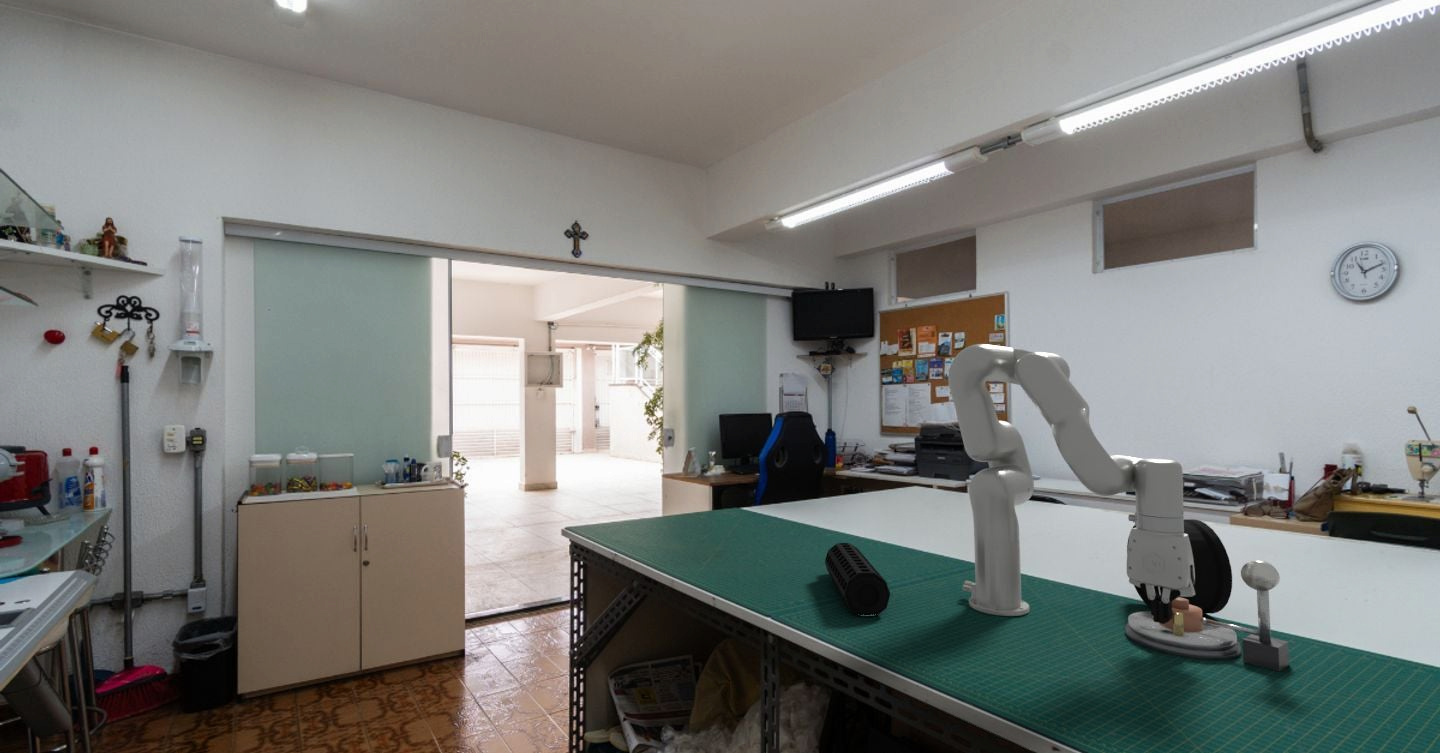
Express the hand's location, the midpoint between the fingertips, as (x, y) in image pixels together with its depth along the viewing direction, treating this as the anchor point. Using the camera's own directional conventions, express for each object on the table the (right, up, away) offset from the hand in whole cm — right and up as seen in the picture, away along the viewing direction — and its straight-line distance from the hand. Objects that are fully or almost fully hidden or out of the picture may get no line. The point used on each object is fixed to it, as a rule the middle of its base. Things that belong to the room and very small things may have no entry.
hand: (1161, 621), depth 121 cm
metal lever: (+11, -4, -5) cm, 13 cm away
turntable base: (+5, -5, +2) cm, 8 cm away
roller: (-51, -7, +36) cm, 63 cm away
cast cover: (+5, -2, +3) cm, 6 cm away
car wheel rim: (+18, -6, +20) cm, 27 cm away
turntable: (+5, -3, +2) cm, 7 cm away
